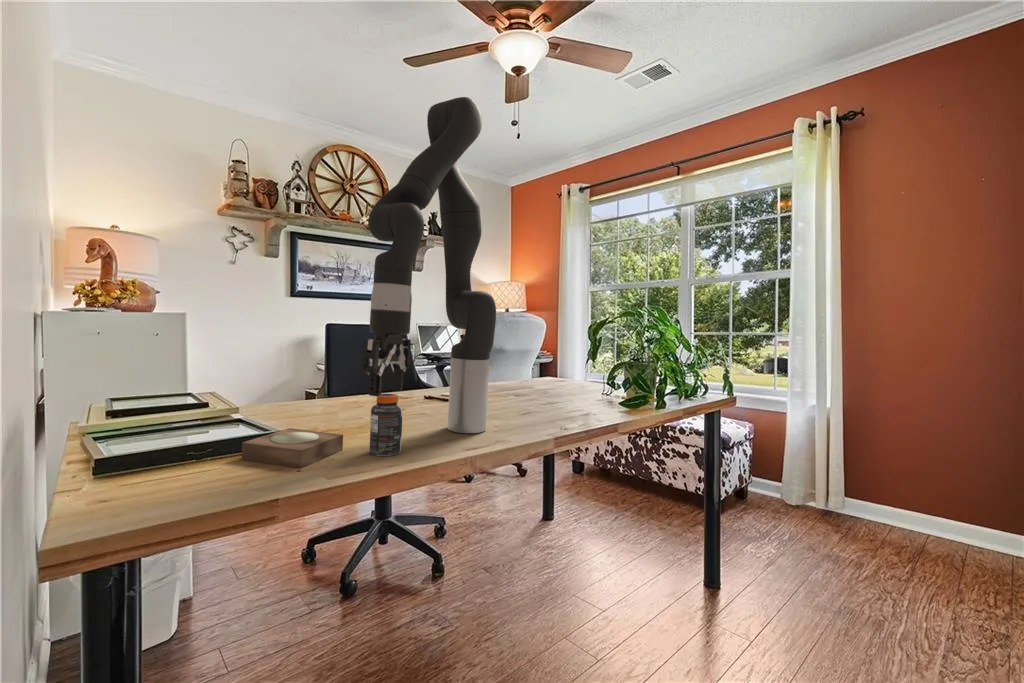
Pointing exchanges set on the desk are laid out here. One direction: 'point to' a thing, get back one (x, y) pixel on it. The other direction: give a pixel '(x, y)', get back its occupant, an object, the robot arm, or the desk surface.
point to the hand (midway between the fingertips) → (386, 393)
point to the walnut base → (292, 447)
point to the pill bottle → (386, 426)
